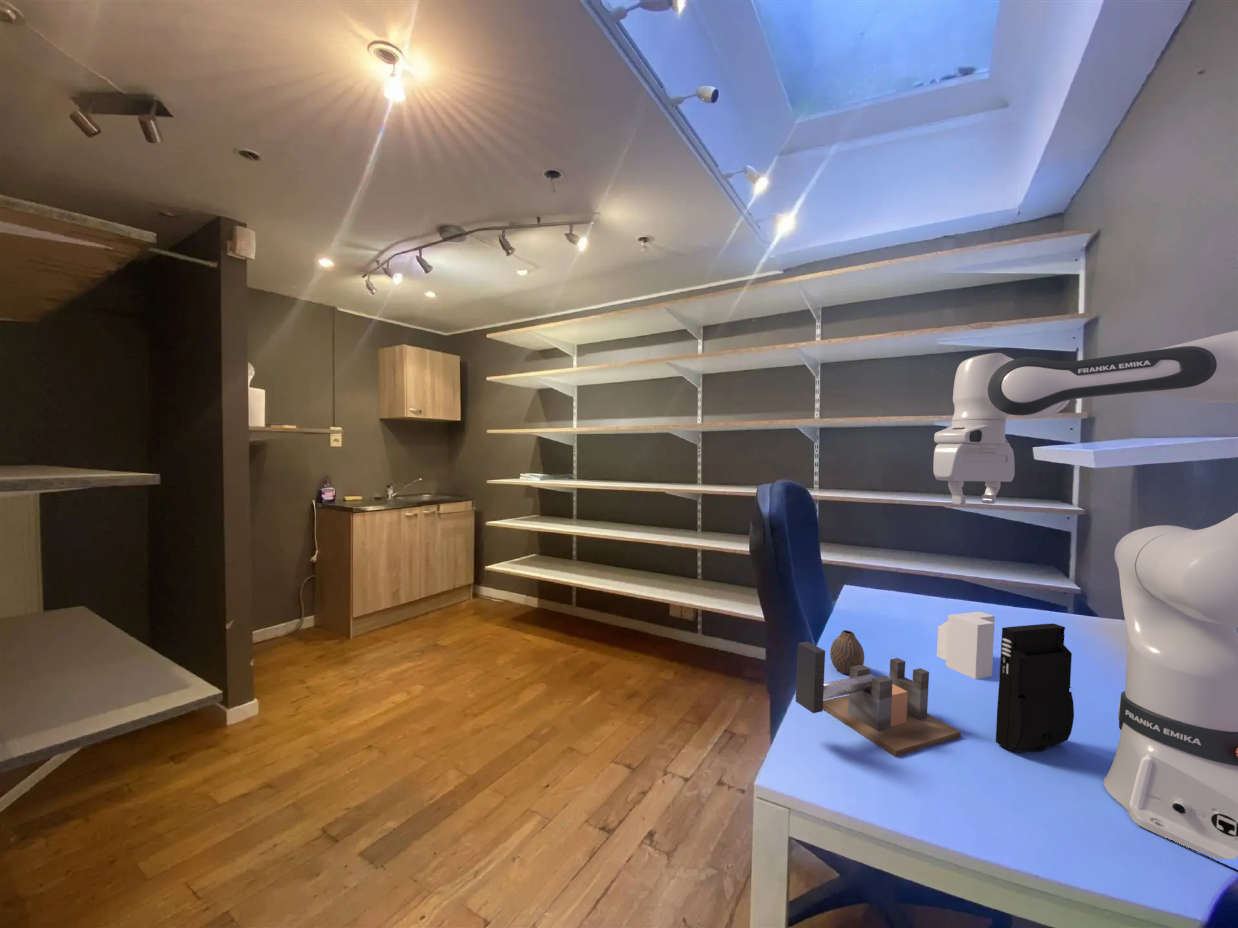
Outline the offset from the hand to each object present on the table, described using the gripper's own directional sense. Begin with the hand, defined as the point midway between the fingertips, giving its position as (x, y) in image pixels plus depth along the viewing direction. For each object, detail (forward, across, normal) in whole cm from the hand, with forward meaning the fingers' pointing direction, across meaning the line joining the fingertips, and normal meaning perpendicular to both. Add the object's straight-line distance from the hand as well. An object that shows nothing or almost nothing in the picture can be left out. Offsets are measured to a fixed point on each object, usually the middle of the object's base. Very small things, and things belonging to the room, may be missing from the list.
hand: (973, 503), depth 98 cm
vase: (+39, +15, -16) cm, 45 cm away
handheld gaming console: (+39, +8, +16) cm, 43 cm away
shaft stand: (+39, +25, +2) cm, 46 cm away
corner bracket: (+39, -15, -9) cm, 43 cm away
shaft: (+33, +37, +2) cm, 50 cm away
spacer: (+38, +25, +2) cm, 46 cm away
